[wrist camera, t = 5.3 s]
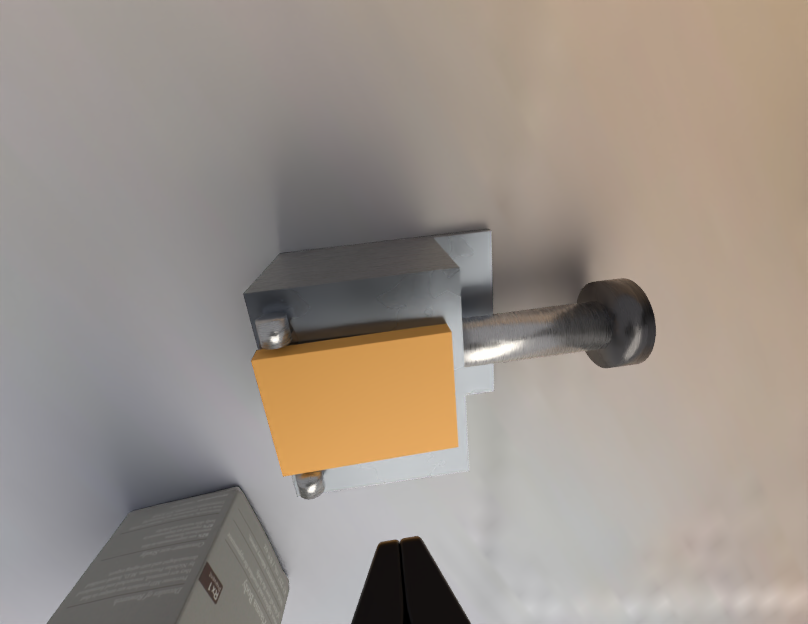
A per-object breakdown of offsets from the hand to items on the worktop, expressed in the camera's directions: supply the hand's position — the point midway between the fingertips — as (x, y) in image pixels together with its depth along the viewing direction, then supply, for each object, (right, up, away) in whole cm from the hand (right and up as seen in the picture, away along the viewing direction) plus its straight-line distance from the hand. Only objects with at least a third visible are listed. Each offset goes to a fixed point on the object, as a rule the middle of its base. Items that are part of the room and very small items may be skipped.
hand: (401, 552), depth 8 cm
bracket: (0, +4, +11) cm, 11 cm away
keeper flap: (-1, +2, +5) cm, 6 cm away
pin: (+4, +4, +10) cm, 11 cm away
